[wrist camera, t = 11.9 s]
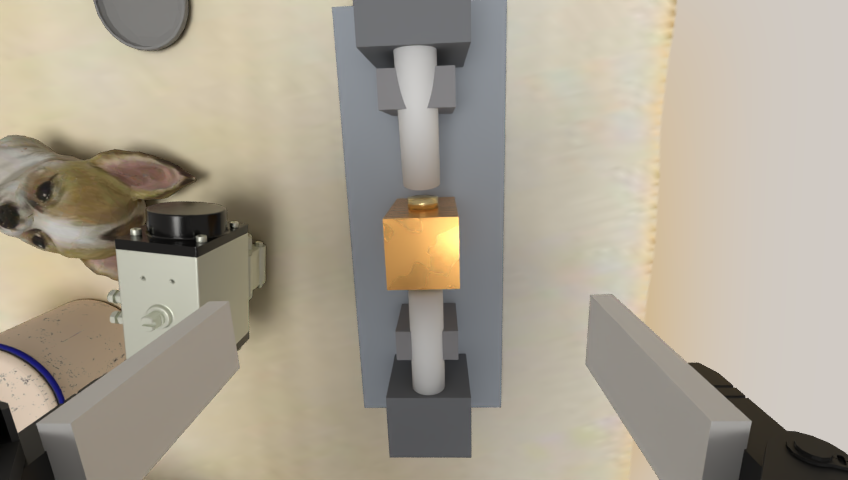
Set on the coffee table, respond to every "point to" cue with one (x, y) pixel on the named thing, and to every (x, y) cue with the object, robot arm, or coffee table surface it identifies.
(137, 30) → the pocket watch
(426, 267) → the universal joint coupler
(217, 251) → the pneumatic valve
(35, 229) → the ceramic sculpture
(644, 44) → the coffee table surface
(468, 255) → the shaft rig
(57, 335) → the teacup with lid
